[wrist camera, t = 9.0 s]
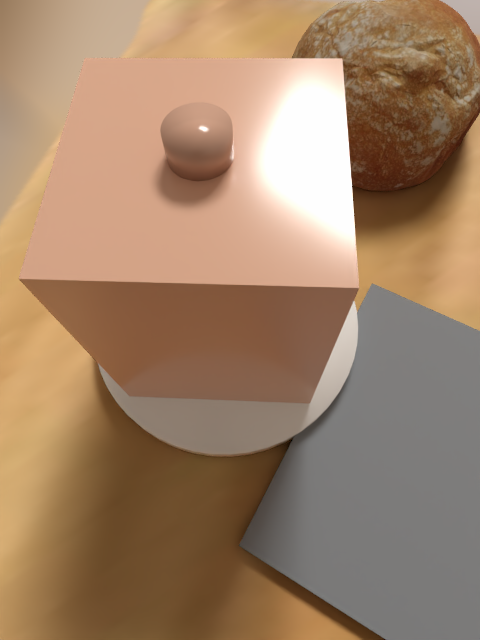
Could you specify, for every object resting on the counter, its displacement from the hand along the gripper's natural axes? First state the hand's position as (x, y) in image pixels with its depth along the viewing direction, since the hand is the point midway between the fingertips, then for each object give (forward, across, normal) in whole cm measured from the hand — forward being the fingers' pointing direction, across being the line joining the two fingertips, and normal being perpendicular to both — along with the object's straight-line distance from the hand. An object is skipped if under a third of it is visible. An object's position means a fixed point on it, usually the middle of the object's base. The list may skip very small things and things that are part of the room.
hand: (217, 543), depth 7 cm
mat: (+9, -7, +5) cm, 13 cm away
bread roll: (+22, -7, -9) cm, 24 cm away
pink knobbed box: (+12, +1, 0) cm, 12 cm away
